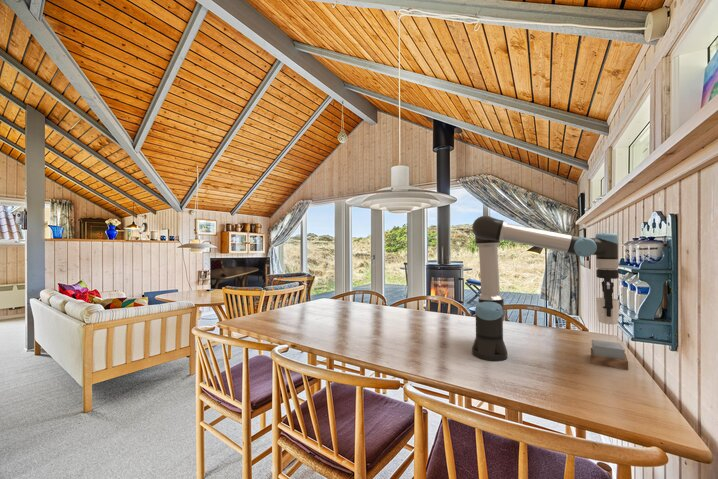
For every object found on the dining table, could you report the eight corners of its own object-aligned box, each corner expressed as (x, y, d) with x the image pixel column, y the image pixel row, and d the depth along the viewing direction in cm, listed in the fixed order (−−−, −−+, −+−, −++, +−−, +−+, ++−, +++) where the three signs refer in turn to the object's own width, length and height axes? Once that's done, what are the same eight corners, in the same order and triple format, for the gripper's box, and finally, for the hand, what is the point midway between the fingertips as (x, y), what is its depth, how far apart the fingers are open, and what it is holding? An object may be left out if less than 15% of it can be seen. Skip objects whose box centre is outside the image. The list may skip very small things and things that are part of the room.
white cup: (616, 321, 137) (616, 298, 137) (622, 325, 130) (622, 301, 130) (594, 319, 140) (594, 297, 140) (599, 323, 133) (599, 300, 133)
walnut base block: (591, 364, 133) (591, 355, 133) (590, 356, 143) (590, 347, 143) (628, 371, 126) (628, 361, 126) (625, 362, 136) (625, 352, 136)
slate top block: (594, 355, 134) (594, 345, 134) (591, 348, 142) (591, 339, 142) (624, 359, 128) (624, 349, 128) (620, 352, 137) (620, 343, 137)
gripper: (620, 271, 125) (621, 328, 125) (616, 267, 141) (617, 318, 141) (596, 270, 129) (598, 325, 129) (595, 266, 146) (596, 316, 146)
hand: (608, 321), depth 135 cm, fingers closed on white cup, 8 cm apart
